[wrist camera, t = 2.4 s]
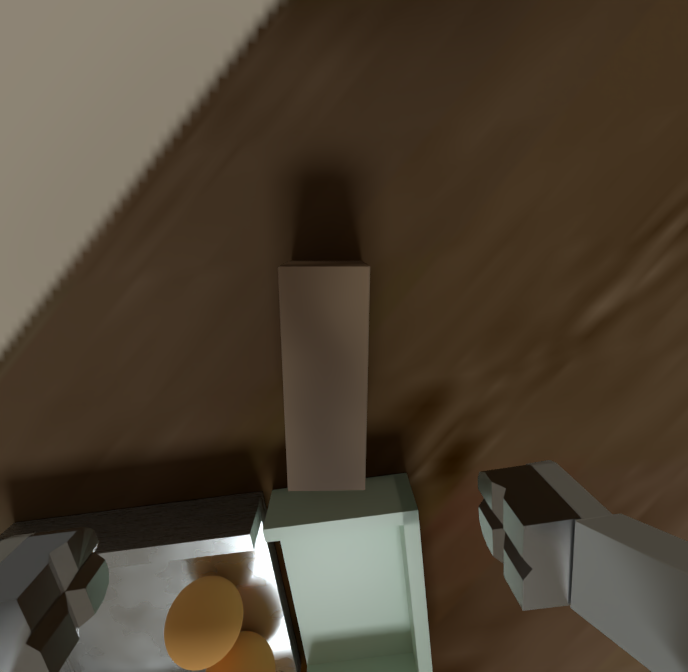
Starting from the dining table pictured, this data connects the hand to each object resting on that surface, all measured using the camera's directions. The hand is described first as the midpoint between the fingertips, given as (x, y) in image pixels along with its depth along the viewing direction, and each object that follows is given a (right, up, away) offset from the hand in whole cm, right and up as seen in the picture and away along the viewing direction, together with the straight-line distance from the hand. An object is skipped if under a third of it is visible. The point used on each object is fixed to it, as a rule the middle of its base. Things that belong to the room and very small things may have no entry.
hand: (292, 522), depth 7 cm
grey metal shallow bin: (-10, -13, +15) cm, 23 cm away
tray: (+2, -12, +15) cm, 19 cm away
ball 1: (-6, -12, +12) cm, 18 cm away
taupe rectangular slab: (0, +3, +12) cm, 12 cm away
